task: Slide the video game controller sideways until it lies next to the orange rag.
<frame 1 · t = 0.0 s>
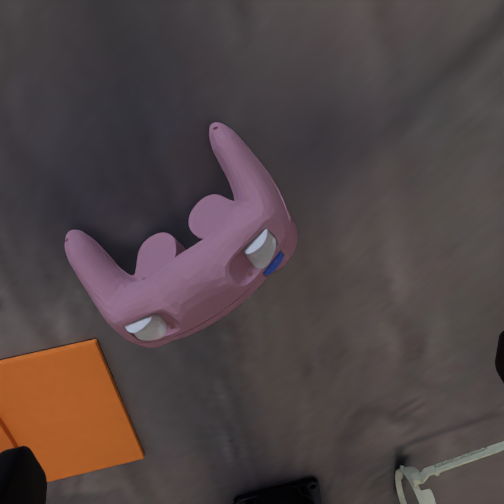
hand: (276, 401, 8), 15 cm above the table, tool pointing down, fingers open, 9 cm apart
orange rag: (39, 420, 27), on the table
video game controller: (179, 217, 22), on the table
silver wire-framed piece: (476, 476, 38), on the table
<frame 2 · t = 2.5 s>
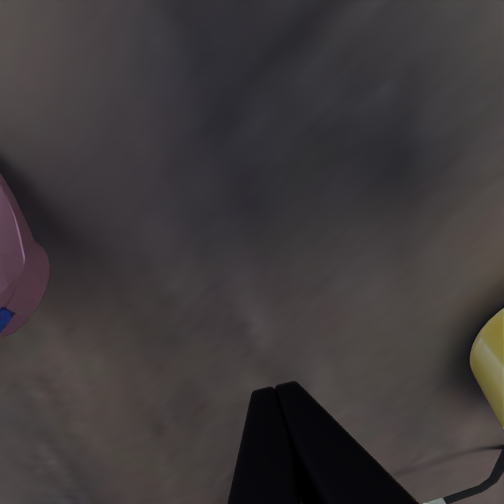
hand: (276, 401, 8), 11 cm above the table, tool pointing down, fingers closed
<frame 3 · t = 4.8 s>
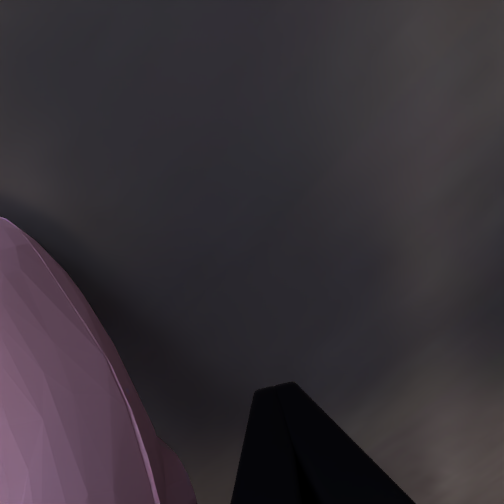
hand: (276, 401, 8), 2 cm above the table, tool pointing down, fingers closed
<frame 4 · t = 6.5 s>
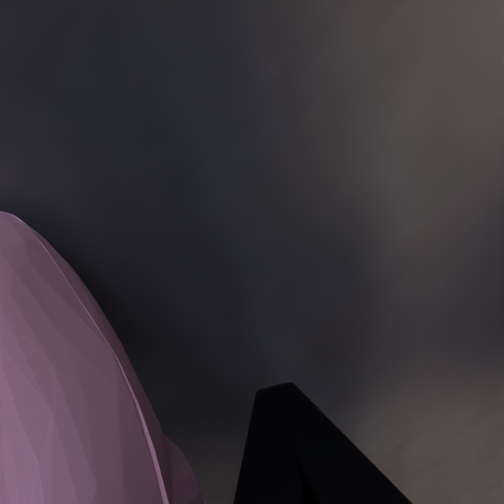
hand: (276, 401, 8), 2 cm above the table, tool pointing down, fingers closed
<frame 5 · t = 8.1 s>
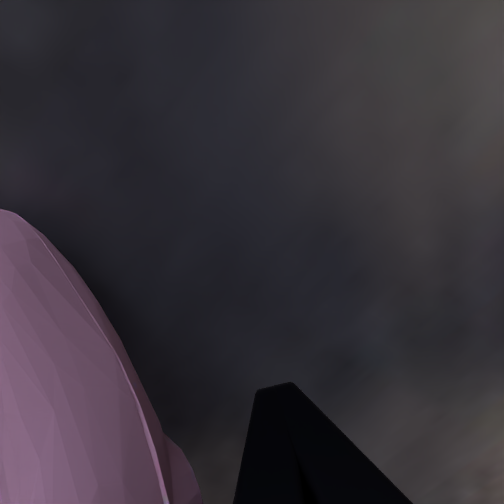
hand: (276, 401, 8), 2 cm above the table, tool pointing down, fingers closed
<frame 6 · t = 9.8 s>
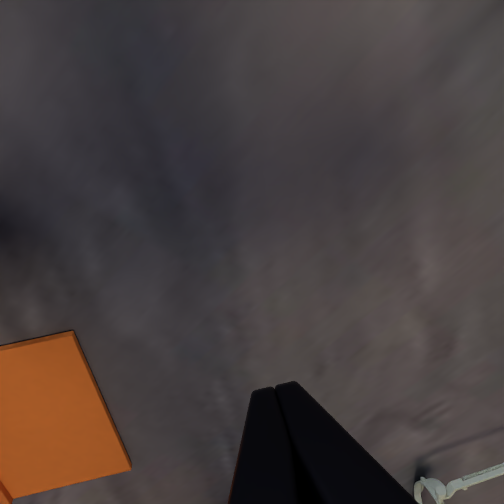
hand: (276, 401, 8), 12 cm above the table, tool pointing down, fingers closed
orange rag: (8, 426, 23), on the table
silver wire-framed piece: (502, 488, 34), on the table
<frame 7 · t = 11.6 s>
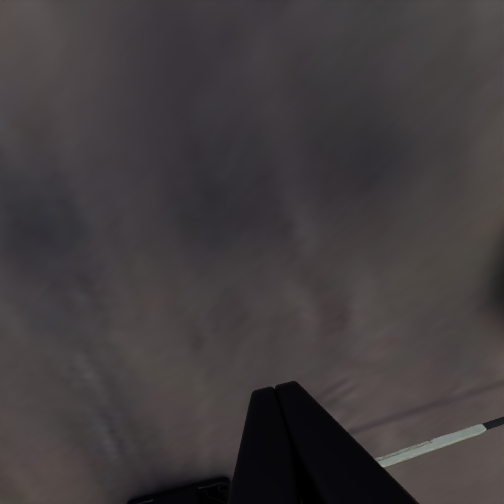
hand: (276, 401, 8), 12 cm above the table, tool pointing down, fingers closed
silver wire-framed piece: (430, 476, 32), on the table
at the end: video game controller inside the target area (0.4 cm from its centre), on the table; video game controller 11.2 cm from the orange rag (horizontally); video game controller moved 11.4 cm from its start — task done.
